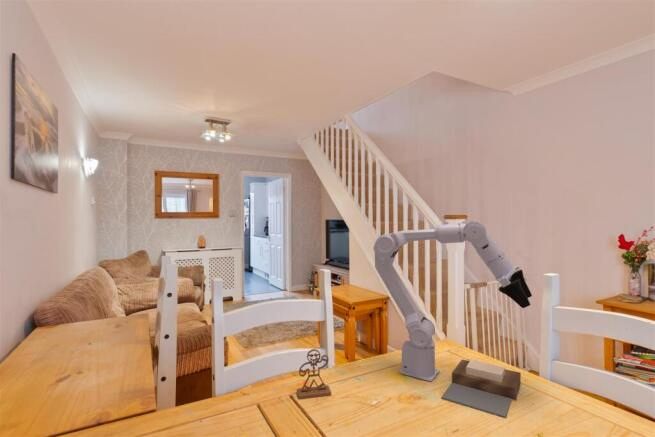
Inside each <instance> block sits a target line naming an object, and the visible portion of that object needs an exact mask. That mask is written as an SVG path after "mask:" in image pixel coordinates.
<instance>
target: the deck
mask: <svg viewBox="0 0 655 437" xmlns="http://www.w3.org/2000/svg"><path fill="white" fill-rule="evenodd" d="M469 362H470V360H468V359H467V360H466V359H461V360H460V361H459V362H458V364H457V365H456V367H455V368H454V369H453V371H452V373H451V383H455V384H459V385H463V386H467V387H470V388H474V389H478V390H481V391H485V392H489V393H492V394H496V395H500V396H504V397H507V398H511V401H517V398H518V394H519V390H520V387H521V380H522V379H521V378H522V377H521V375H522V374H521V372H520V371H514V370H510V369H506V368H505V375H504V378H503V381H502V383H501V382H497V381H493V380H489V379H485V378H481V377H477V376H473V375H469V374H466V366H467V365H468V363H469Z"/></svg>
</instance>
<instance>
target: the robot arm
mask: <svg viewBox="0 0 655 437" xmlns="http://www.w3.org/2000/svg"><path fill="white" fill-rule="evenodd" d="M430 240H431V241H432V240H435V241H437V242H439V243H440V244H455V243H464V242H465V241H467V242H468V243H470V244H471V245H472V246H473V248H474V249H475V252H476V254H478V256H479V257H480V259H481V260H482V261H483V263H484V264H485V265H486V267H487V268H488V269H489V272H491V274H492V275H493V276H494V277H495V280H496V281H498V282H499V284H500V285H501V286H499V288H498V291H499V292H500V293H502V294H504V295H506V296H507V297H508V298H510V299H511V300H512V301H513V302H515V303H516V304H517V306H519V307H521V308H522V309H525V308H527V307H529V306H531V302H530V300H529V298H531V297H533V294H532V292H531V291H530V288H529V286H528V284H527V281H526V279H525V276H524V272H523V270H522V269H521V265H520V264H517V265H514V264H513V263H512V261H511V260H510V259H509V257H508V256H507V255H506V253H505V252H504V251H503V249H502V248H501V247H500V246H499V244H498V243H497V242H496V240H495V239H493V237H492V236H491V235H490V234H489V233H488V232H487V229H486V227H485V226H484V225H483V224H482V223H481V222H479V221H473V220H472V221H469V222H468V223H467V221H466V220H462V221H461V222H454V223H453V222H452V223H449V221H443V222H442V223H439V224H438V225H437V226H436V227H435V228H429V229H428V228H427V229H405V230H399V231H395V232H391V233H387V234H385V233H384V234H380V235H379V236H378V237H377V238H376V240H375V242H374V245H373V251H374V267H375V270H376V272H377V273H378V275H379V277H380V278H381V280H382V281H383V284H384V285H385V288H387V290H388V292H389V295H391V298H392V299H393V301H394V303H395V305H396V306H397V307H398V309H399V311H400V313H401V315H402V316H403V319H404V322H405V328H406V329H407V332H408V338H409V340H405V341H404V342H403V344H402V346H401V347H402V348H401V370H400V374H403V375H404V376H405V375H406V376H409V377H413V378H417V379H419V380H424V381H426V382H433V380H434V379H435V378H436V376H438V374H439V373H440V369H438V368H437V369H436V364H435V362H436V360H435V359H436V356H435V355H436V344H435V342H434V339H433V336H434V335H435V332H436V327H435V325H434V323H433V322H432V320H430V318H429V319H428V317H427V316H426V315H425V313H424V312H423V311H422V310H420V309H419V307H418V306H417V304H416V302H415V301H414V299H413V297H412V295H411V294H410V292H409V290H408V288H407V287H406V286H405V284H404V282H403V281H402V279H401V277H400V276H399V273H398V272H397V269H395V267H394V261H395V258H396V255H397V254H398V252H399V251H400V249H401V248H402V247H403V246H405V245H407V244H408V243H409V242H418V241H430Z"/></svg>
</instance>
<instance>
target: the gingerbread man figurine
mask: <svg viewBox="0 0 655 437" xmlns="http://www.w3.org/2000/svg"><path fill="white" fill-rule="evenodd" d="M312 352H317V353H314V354H313V353H312ZM306 357H307V358H306V359H307V360H308V362H304V363H303V364H302V365H301V366H300V368H299V369H298V373H299V376H300V377H305V376H306V375H307V374H308V375H307V378H306V380H305V382H304V383H303V386H302V387H301V388H297V389H296V396H297V398H298V400H307V399H316V398H323V397H330V396H331V397H332V390H331V388H330V387H329V386H330V385H326V383H325V382H324V381H323V379H322V378H321V375H320V370H321V369H323V368H325V367H327V365H328V363H329V356H328V355H327V354H323V355H321V352H320V351H319V350H318V349H316V348H313V349H311V350H309V351H308V352H307V354H306ZM313 357H315V358H313ZM325 357H326V358H325ZM322 362H325V363H324V364H323V365H322V366H319V367H318V364H320V363H322ZM306 365H310V367H311V368H312V374H310V368H308V367H307V368H306V369H304V370H303V369H302V368H304V367H305V366H306ZM316 367H317V368H318V369H317V370H318V371H317V373H316V371H315V369H316ZM301 373H303V374H301ZM313 377H314V378H315V377H318V378H319V380H320V381H321V383H320V384H318V383H317V381H316V380H315V379H314V378H313ZM310 378H313V379H312V381H311V383H310V385H309V386H308V385H306V384H307V383H308V381H309V379H310ZM314 384H315V385H316V386H313V385H314Z"/></svg>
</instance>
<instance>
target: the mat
mask: <svg viewBox="0 0 655 437" xmlns="http://www.w3.org/2000/svg"><path fill="white" fill-rule="evenodd" d="M441 400H445V401H448V402H452V403H454V404H457V405H460V406H465V407H469V408H471V409H475V410H478V411H481V412H484V413H487V414H491V415H494V416H498V417H501V418H504V419H506V418H507V416H508V412H509V410H510V406H511V402H512V399H511V398H507V397H504V396H500V395H496V394H492V393H489V392H485V391H481V390H478V389H474V388H470V387H467V386H463V385H459V384H455V383H452V382H451V383H450V384H449V386H448V387H447V388H446V390H445V392H444V393H443V395H442V396H441Z"/></svg>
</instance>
